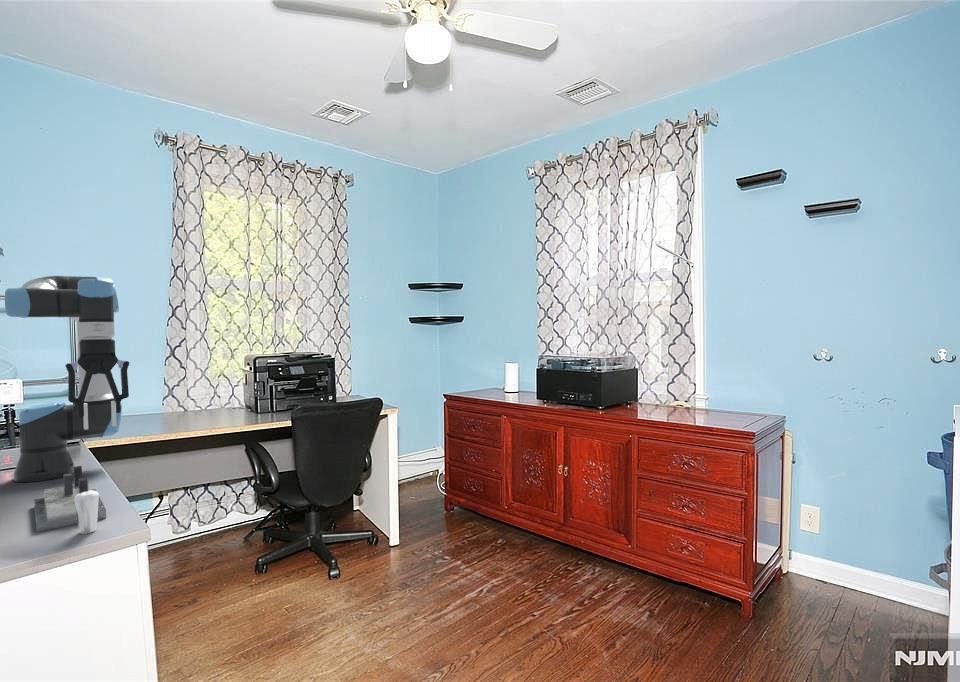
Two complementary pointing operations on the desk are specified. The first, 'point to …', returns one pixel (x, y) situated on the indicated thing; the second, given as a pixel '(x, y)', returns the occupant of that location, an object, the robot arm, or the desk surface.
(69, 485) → the breaker
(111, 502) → the desk surface
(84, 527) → the milkshake
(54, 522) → the breaker panel
